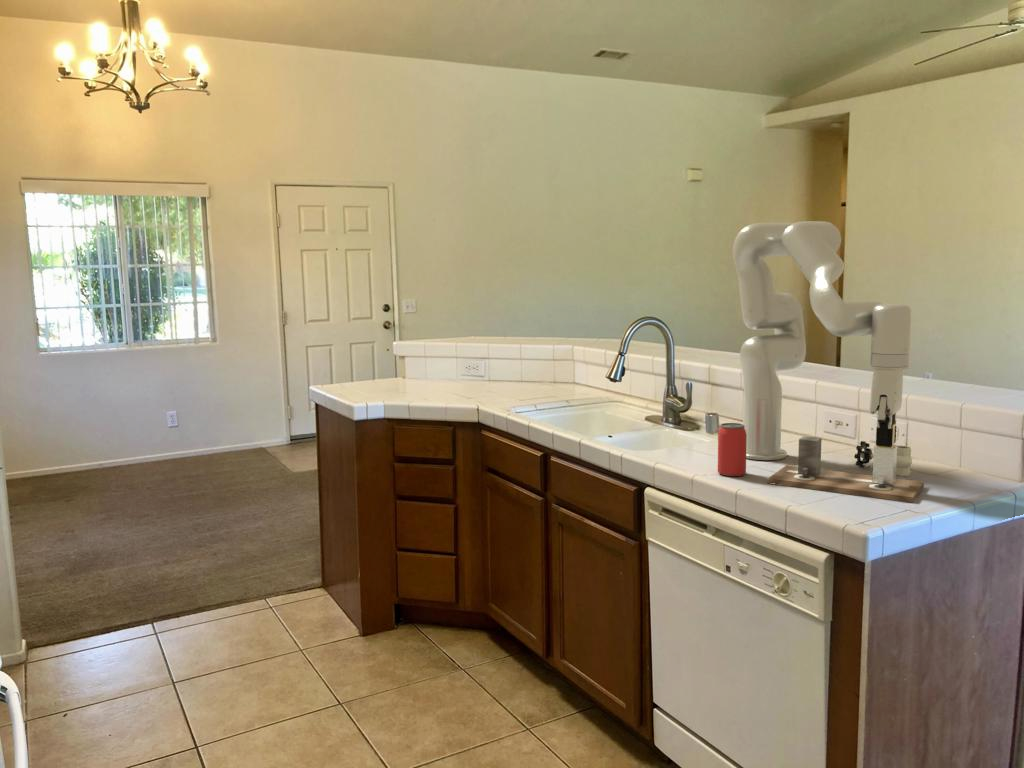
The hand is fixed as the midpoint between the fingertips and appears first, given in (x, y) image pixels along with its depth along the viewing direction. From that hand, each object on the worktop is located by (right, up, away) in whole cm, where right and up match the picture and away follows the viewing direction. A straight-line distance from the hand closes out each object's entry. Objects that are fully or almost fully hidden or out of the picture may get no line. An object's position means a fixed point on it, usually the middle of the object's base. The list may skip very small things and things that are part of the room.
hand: (885, 443), depth 173 cm
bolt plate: (-7, -10, +5) cm, 13 cm away
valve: (+8, -8, +17) cm, 20 cm away
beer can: (-29, -9, +17) cm, 35 cm away
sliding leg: (-1, -9, 0) cm, 9 cm away
